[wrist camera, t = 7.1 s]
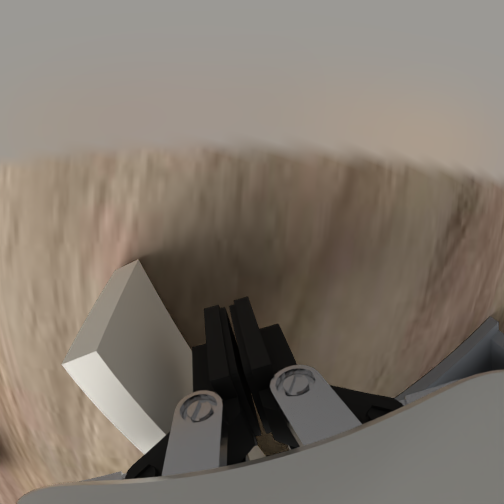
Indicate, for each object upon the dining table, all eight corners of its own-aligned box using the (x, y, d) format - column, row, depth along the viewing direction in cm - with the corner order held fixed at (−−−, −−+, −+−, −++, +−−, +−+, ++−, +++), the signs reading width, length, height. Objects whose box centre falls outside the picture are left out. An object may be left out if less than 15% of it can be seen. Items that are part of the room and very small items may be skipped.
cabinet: (336, 508, 24) (357, 557, 18) (271, 469, 19) (294, 546, 13) (491, 400, 24) (528, 437, 17) (490, 316, 19) (551, 361, 12)
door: (275, 468, 19) (299, 543, 13) (247, 477, 19) (265, 553, 13) (138, 259, 13) (96, 351, 7) (96, 278, 13) (37, 373, 6)
